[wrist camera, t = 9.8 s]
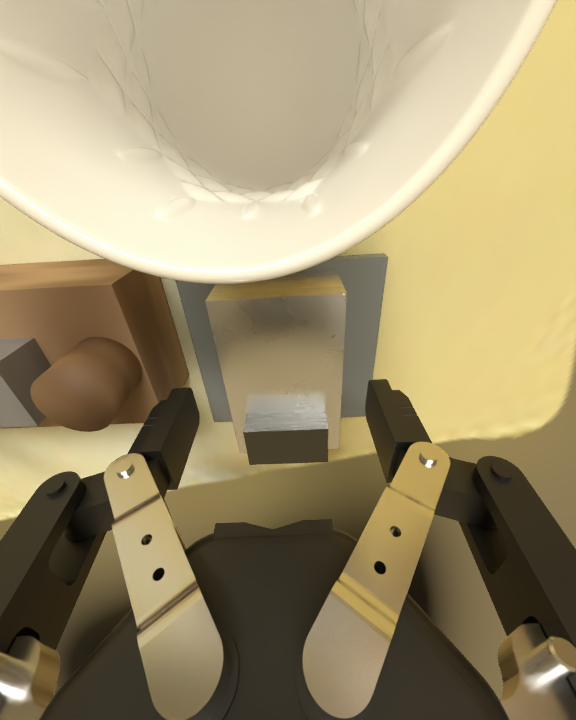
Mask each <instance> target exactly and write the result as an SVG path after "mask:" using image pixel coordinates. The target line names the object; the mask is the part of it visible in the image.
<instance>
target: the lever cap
mask: <svg viewBox="0 0 576 720" xmlns="http://www.w3.org/2000/svg"><path fill="white" fill-rule="evenodd" d="M346 296H347V292H346V290H345V288H344V286H343V284H342V281H341V279H340V277H339V275H338V272H337V270H323V271H307V272H296V273H293V274H289V275H286V276H282V277H278V278H273V279H268V280H263V281H257V282H249V283H237V284H215V286H214V288H213V289H212V291H211V292H210V294H209V296H208V297H207V299H206V301H205V302H206V307H207V311H208V315H209V320H210V324H211V328H212V333H213V337H214V342H215V346H216V350H217V355H218V359H219V363H220V368H221V372H222V376H223V381H224V385H225V389H226V394H227V398H228V402H229V407H230V411H231V415H232V420H233V424H234V428H235V433H236V437H237V441H238V446H239V450H240V453H245V452H247V454H248V458H249V463H250V465H256V464H283V463H310V462H328V449H339V435H340V416H341V396H342V376H343V356H344V336H345V316H346Z"/></svg>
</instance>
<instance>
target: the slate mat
mask: <svg viewBox="0 0 576 720" xmlns="http://www.w3.org/2000/svg"><path fill="white" fill-rule="evenodd" d="M387 260H388V256H386V255H385V254H369V255H352V256H336V257H333V258H331V259H329V260H327V261H325V262H323V263H320V264H318V265H316V266H313V267H310V268H308V269H305V270H302V271H299V272H307V271H323V270H337V272H338V275H339V277H340V279H341V281H342V284H343V286H344V288H345V290H346V292H347V296H346V316H345V336H344V356H343V376H342V396H341V416H340V417H352V416H366V414H365V403H366V395H367V387H368V381H369V380H372V378H373V370H374V363H375V355H376V347H377V339H378V331H379V323H380V315H381V308H382V300H383V292H384V284H385V276H386V268H387ZM176 283H177V287H178V290H179V294H180V298H181V301H182V305H183V309H184V312H185V316H186V320H187V323H188V327H189V331H190V334H191V338H192V342H193V345H194V349H195V353H196V356H197V360H198V364H199V367H200V371H201V375H202V378H203V382H204V386H205V389H206V393H207V397H208V400H209V404H210V408H211V411H212V415H213V419H214V422H222V421H233V420H232V415H231V411H230V407H229V402H228V398H227V394H226V389H225V385H224V381H223V376H222V372H221V368H220V363H219V359H218V355H217V350H216V346H215V342H214V337H213V333H212V328H211V324H210V320H209V315H208V311H207V307H206V302H205V301H206V299H207V297H208V296H209V294H210V292H211V291H212V289H213V288H214V286H215V284H204V283H193V282H185V281H178V280H176Z"/></svg>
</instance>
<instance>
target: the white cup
mask: <svg viewBox="0 0 576 720" xmlns="http://www.w3.org/2000/svg"><path fill="white" fill-rule="evenodd" d="M556 2H557V0H0V197H2V198H3V199H4V200H5V201H7V202H8V203H10V204H11V205H12V206H14V207H15V208H16V209H18V210H19V211H21V212H22V213H24V214H25V215H27V216H28V217H29V218H31V219H33V220H34V221H36V222H37V223H39V224H40V225H42V226H43V227H45V228H47V229H48V230H50V231H52V232H53V233H55V234H57V235H58V236H60V237H62V238H64V239H65V240H67V241H69V242H71V243H73V244H75V245H77V246H79V247H81V248H83V249H85V250H87V251H89V252H91V253H93V254H95V255H97V256H100V257H102V258H104V259H107V260H109V261H111V262H114V263H117V264H119V265H122V266H125V267H127V268H130V269H133V270H137V271H140V272H143V273H147V274H150V275H154V276H158V277H163V278H167V279H172V280H178V281H185V282H193V283H204V284H237V283H249V282H257V281H263V280H268V279H273V278H278V277H282V276H286V275H289V274H293V273H296V272H299V271H302V270H305V269H308V268H310V267H313V266H316V265H318V264H320V263H323V262H325V261H327V260H329V259H331V258H333V257H336V256H338V255H339V254H341V253H343V252H345V251H347V250H349V249H351V248H352V247H354V246H356V245H357V244H359V243H361V242H362V241H364V240H365V239H367V238H368V237H370V236H371V235H373V234H374V233H376V232H377V231H379V230H380V229H381V228H383V227H384V226H385V225H387V224H388V223H389V222H391V221H392V220H393V219H394V218H396V217H397V216H398V215H399V214H401V213H402V212H403V211H404V210H405V209H406V208H408V207H409V206H410V205H411V204H412V203H413V202H414V201H415V200H416V199H418V198H419V197H420V196H421V195H422V194H423V193H424V192H425V191H426V190H427V189H428V188H429V187H430V186H431V185H432V184H433V183H434V182H435V181H436V180H437V179H438V178H439V177H440V175H441V174H442V173H443V172H444V171H445V170H446V169H447V168H448V167H449V166H450V164H451V163H452V162H453V161H454V160H455V159H456V157H457V156H458V155H459V154H460V153H461V151H462V150H463V149H464V148H465V147H466V145H467V144H468V143H469V142H470V140H471V139H472V138H473V136H474V135H475V134H476V133H477V131H478V130H479V129H480V127H481V126H482V125H483V123H484V122H485V120H486V119H487V118H488V116H489V115H490V113H491V112H492V111H493V109H494V108H495V106H496V105H497V103H498V102H499V100H500V99H501V97H502V96H503V94H504V93H505V91H506V90H507V88H508V87H509V85H510V84H511V82H512V80H513V79H514V77H515V76H516V74H517V72H518V71H519V69H520V67H521V66H522V64H523V62H524V61H525V59H526V57H527V56H528V54H529V52H530V50H531V49H532V47H533V45H534V43H535V42H536V40H537V38H538V36H539V34H540V33H541V31H542V29H543V27H544V25H545V23H546V21H547V20H548V18H549V16H550V14H551V12H552V10H553V8H554V6H555V4H556Z"/></svg>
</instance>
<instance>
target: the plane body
mask: <svg viewBox="0 0 576 720" xmlns="http://www.w3.org/2000/svg"><path fill="white" fill-rule="evenodd" d="M188 375H189V373H188V369H187V366H186V363H185V359H184V356H183V353H182V349H181V346H180V343H179V339H178V336H177V333H176V329H175V326H174V323H173V319H172V316H171V313H170V309H169V306H168V303H167V299H166V296H165V293H164V290H163V286H162V283H161V280H160V277H158V276H154V275H150V274H147V273H143V272H140V271H137V270H133V269H130V268H127V267H125V266H122V265H119V264H117V263H114V262H111V261H109V260H107V259H96V260H79V261H62V262H45V263H28V264H11V265H0V428H22V427H48V426H64V427H66V428H69V429H73V430H77V431H88V432H90V431H98V430H101V429H103V428H106V427H107V426H108V425H109V424H125V423H145V421H146V419H148V416H149V414H150V412H151V410H152V408H153V407H155V406H156V405H157V404H158V403H159V402H160V401H161V400H167V398H168V396H169V394H170V392H171V390H172V389H174V388H183V386H184V383H185V381H186V379H187V377H188Z"/></svg>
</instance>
